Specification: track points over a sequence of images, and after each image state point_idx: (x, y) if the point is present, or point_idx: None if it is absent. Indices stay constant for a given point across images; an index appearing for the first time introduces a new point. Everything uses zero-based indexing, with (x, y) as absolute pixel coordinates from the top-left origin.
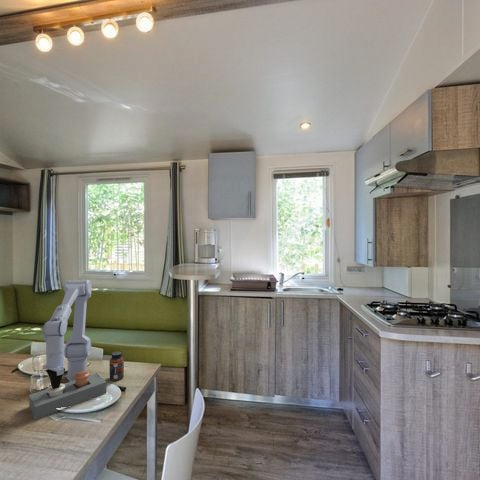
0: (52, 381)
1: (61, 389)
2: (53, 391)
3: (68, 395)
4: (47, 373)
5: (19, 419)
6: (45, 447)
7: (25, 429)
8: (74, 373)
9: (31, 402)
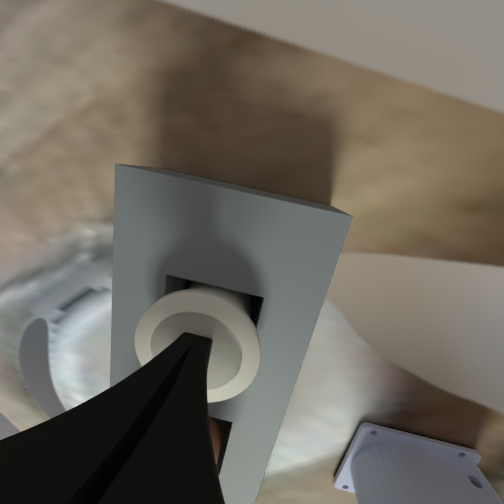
0: (127, 381)
1: (139, 356)
2: (146, 316)
3: (112, 344)
4: (215, 472)
5: (238, 115)
6: None
7: (107, 98)
8: (388, 489)
9: (256, 193)
